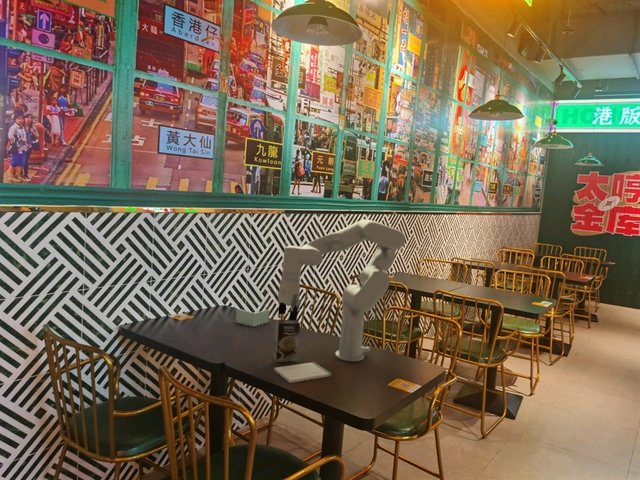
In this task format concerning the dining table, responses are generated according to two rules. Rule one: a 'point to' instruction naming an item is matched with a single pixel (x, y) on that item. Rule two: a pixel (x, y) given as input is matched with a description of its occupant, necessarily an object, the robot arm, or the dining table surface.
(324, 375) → the notepad
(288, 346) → the coffee box
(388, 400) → the dining table surface
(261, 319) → the l-shaped corner panel
